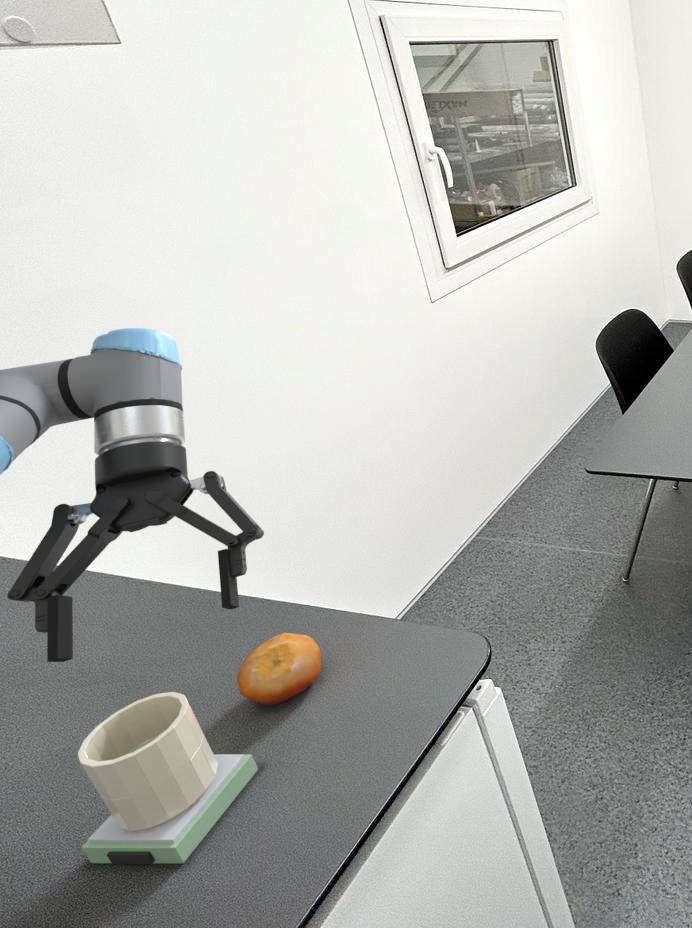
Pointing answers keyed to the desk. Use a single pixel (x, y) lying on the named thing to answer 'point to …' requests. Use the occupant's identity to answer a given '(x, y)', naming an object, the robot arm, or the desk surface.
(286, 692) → the fruit
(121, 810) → the cream faceted cup
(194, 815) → the scale
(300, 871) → the desk surface
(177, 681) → the desk surface
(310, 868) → the desk surface
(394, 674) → the desk surface
